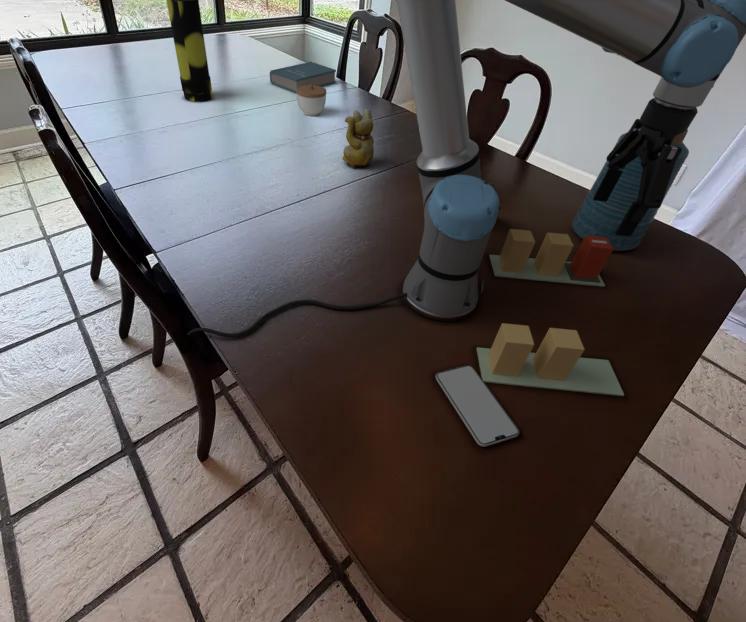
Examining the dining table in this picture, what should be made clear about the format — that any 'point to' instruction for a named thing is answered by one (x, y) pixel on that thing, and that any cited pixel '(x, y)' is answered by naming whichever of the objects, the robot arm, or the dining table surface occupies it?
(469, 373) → the smartphone
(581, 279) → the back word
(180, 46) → the container
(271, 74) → the book
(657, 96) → the robot arm
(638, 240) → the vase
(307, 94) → the trinket box
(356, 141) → the decorative figurine
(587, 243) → the red slotted block
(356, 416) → the dining table surface
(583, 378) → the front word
